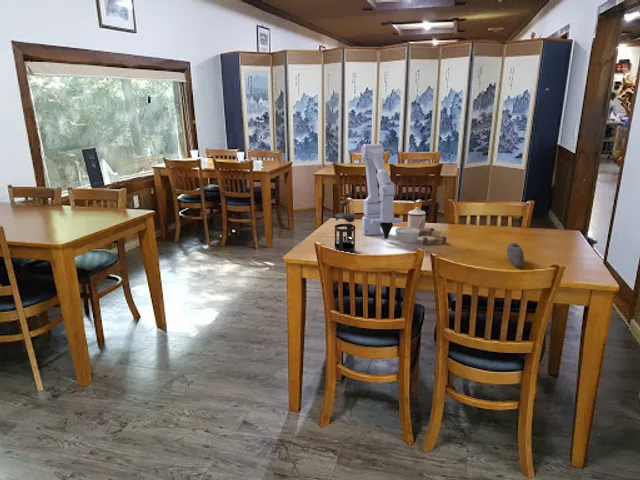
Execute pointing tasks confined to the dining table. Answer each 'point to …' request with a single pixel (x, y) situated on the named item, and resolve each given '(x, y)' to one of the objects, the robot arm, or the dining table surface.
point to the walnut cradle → (431, 232)
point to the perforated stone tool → (515, 254)
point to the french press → (345, 241)
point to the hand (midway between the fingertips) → (385, 238)
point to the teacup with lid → (416, 219)
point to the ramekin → (407, 234)
